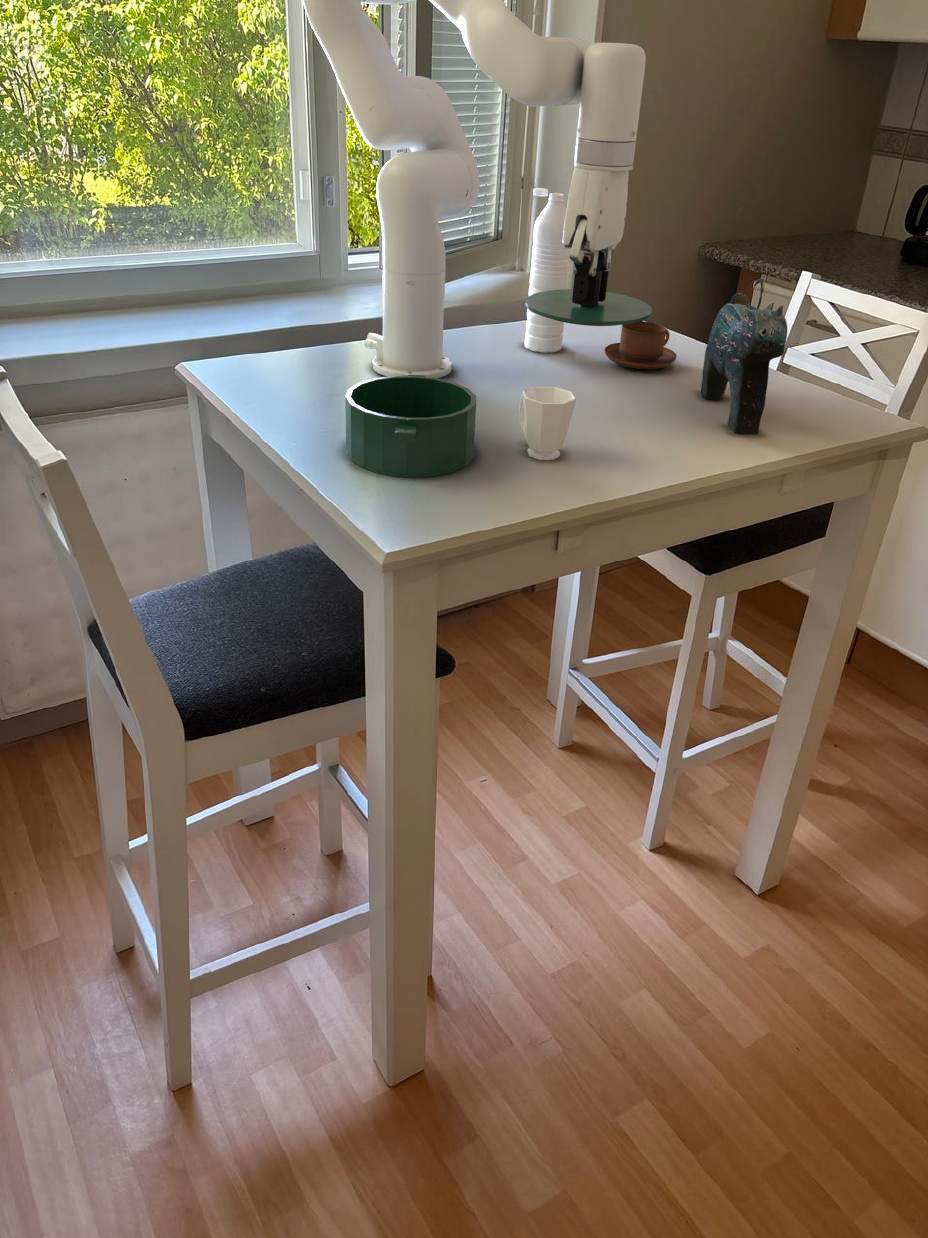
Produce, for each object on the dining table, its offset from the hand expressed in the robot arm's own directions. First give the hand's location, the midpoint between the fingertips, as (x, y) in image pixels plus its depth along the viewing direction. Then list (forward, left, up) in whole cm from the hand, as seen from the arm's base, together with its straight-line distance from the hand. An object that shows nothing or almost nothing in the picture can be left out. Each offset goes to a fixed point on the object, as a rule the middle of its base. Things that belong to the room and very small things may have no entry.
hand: (588, 300), depth 134 cm
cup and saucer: (-2, +29, -16) cm, 33 cm away
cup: (+2, -16, -16) cm, 23 cm away
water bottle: (-20, +27, -16) cm, 37 cm away
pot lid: (0, 0, -1) cm, 1 cm away
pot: (-11, -27, -16) cm, 33 cm away
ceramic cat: (+18, +14, -16) cm, 28 cm away
